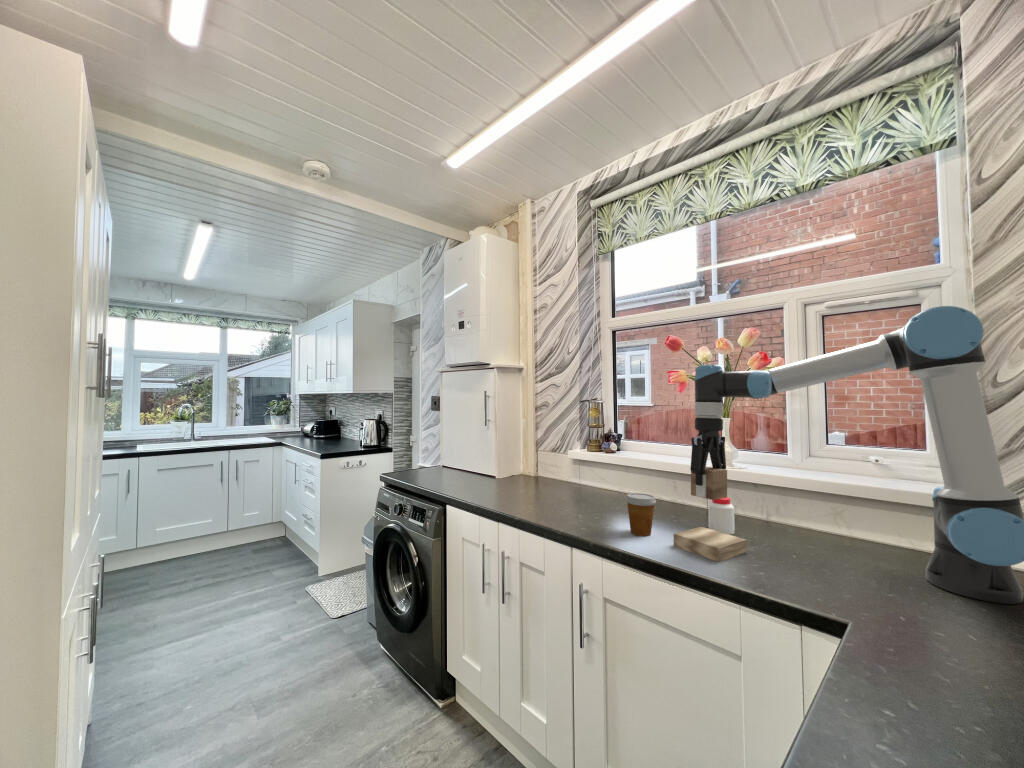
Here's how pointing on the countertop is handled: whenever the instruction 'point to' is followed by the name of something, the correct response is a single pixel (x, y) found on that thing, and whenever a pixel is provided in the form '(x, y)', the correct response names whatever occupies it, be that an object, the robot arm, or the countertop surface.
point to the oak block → (710, 543)
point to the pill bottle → (721, 515)
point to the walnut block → (712, 483)
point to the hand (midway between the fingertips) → (708, 495)
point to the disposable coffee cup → (640, 513)
